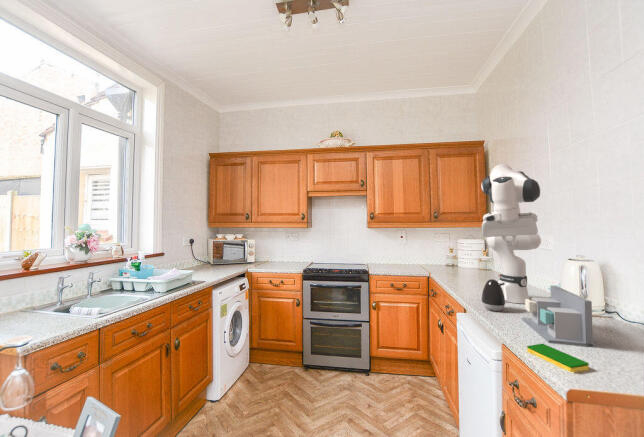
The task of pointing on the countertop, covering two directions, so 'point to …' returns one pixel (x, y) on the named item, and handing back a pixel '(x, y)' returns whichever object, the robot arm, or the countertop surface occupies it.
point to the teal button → (546, 316)
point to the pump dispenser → (493, 295)
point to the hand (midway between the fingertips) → (509, 245)
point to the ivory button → (530, 305)
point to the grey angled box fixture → (564, 318)
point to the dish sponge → (558, 357)
